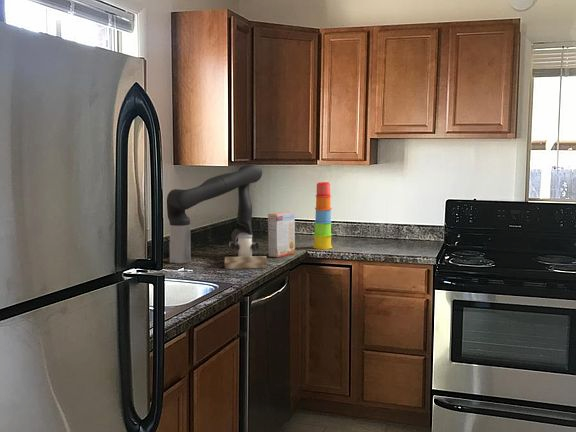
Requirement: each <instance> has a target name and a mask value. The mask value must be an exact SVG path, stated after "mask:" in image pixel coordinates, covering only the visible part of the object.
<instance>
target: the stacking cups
mask: <svg viewBox="0 0 576 432" xmlns="http://www.w3.org/2000/svg"><path fill="white" fill-rule="evenodd" d="M331 197H332V195H331V184H330V182H329V181H328V182H325V181H323V182H321V181H320V182H317V184H316V194H315V207H314V209H315V220H314V233H313V235H314V241H313V246H312V248H313V249H316V250H317V249H318V250H330V248H331V249H333V246H332V236H333V233H332V222H333V221H332V218H331V216H332V213H331V212H332V207H331Z"/></svg>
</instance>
